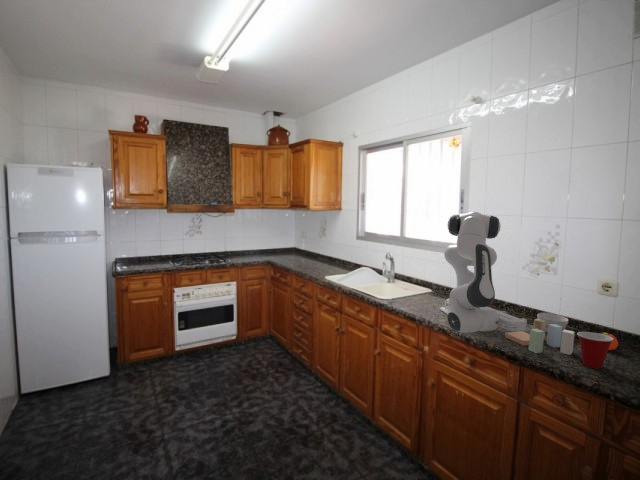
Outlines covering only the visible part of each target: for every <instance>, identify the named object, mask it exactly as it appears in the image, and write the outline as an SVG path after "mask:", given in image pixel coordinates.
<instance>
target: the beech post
mask: <svg viewBox="0 0 640 480" xmlns="http://www.w3.org/2000/svg"><path fill="white" fill-rule="evenodd" d="M545 327H546V321H544V320H541V319H538V318H535V319H533V325H532V329H539V330H542V331H544V338H546V336H545V335H546V332H545Z"/></svg>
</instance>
